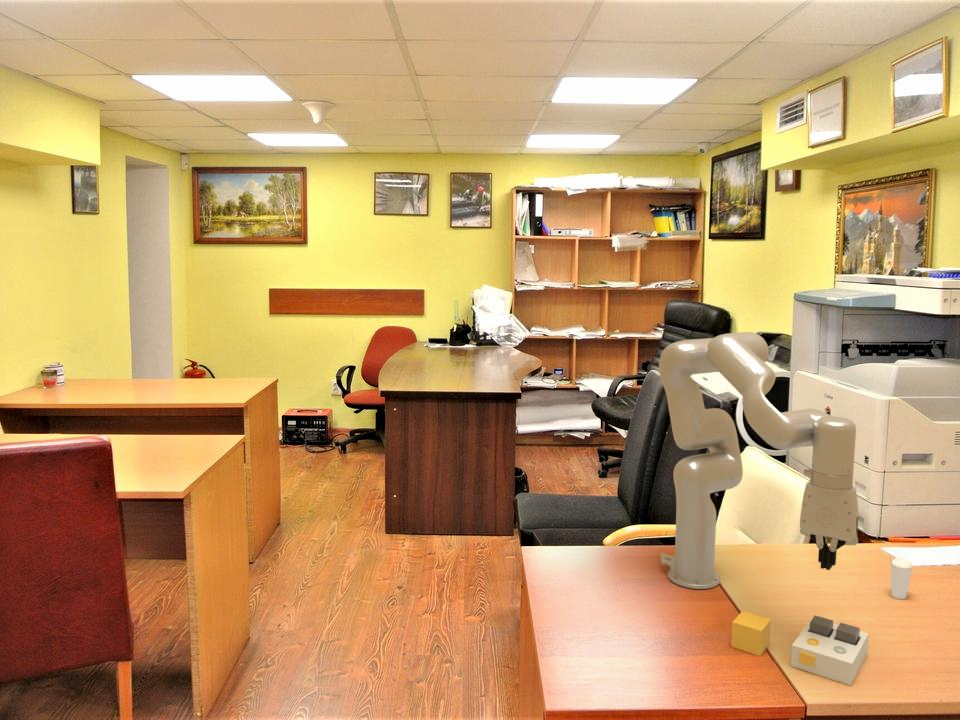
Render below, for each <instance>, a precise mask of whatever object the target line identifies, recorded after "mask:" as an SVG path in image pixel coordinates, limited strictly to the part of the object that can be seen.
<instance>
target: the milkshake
mask: <svg viewBox="0 0 960 720" xmlns="http://www.w3.org/2000/svg"><path fill="white" fill-rule="evenodd" d="M889 560H890V595H891V597H892V598H894V599H896V600H897V599H898V600H906V599H907V598H908V592H909V588H910V581H911V575H912V571H913V563H912V562H910V561H909V560H908V559H904V558H903V557H902V558H901V557H895V558H893V559H892V557H891V556H889Z"/></svg>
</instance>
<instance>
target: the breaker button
mask: <svg viewBox="0 0 960 720" xmlns="http://www.w3.org/2000/svg"><path fill="white" fill-rule="evenodd" d="M838 625H839V626H838V628H837V629H836V639H835V640H838V641H842V642H845V643H849V644H852V645H855V646H856V645H857V644H858V642H859V634H860V631H861V628H860V627H858V626H855V625H851V624H847V623H843V622H840V623H839V624H838Z"/></svg>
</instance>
